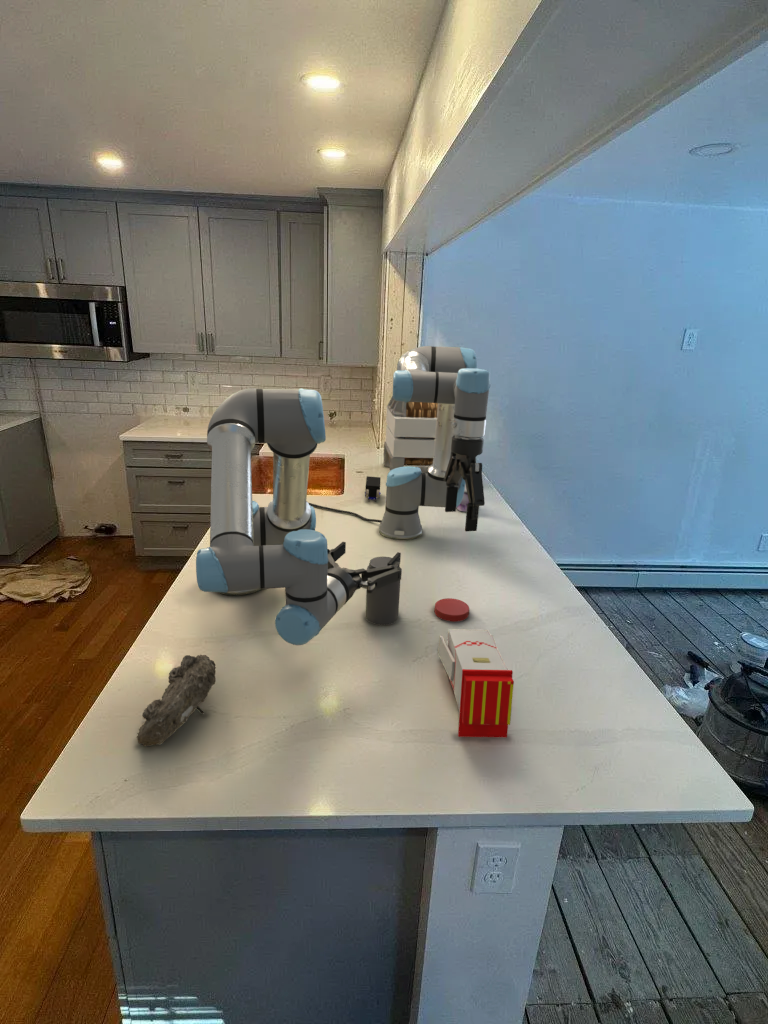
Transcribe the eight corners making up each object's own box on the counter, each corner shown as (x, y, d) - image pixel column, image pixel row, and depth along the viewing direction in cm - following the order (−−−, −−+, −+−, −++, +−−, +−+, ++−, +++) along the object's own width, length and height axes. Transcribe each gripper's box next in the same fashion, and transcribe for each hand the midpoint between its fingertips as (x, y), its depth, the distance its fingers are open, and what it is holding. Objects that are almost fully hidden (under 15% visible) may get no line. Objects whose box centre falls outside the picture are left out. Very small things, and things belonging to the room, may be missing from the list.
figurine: (463, 513, 222) (466, 477, 217) (448, 505, 231) (451, 470, 225) (482, 510, 226) (486, 474, 221) (467, 503, 235) (471, 468, 230)
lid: (462, 603, 154) (463, 597, 154) (473, 620, 146) (474, 614, 145) (430, 605, 153) (431, 599, 152) (439, 622, 144) (440, 616, 144)
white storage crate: (382, 463, 289) (386, 382, 275) (445, 464, 293) (451, 384, 279) (390, 482, 257) (394, 392, 243) (460, 483, 261) (468, 394, 247)
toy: (488, 613, 130) (523, 677, 101) (484, 667, 133) (517, 744, 104) (435, 612, 130) (455, 676, 101) (432, 666, 133) (451, 743, 103)
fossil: (167, 656, 118) (217, 624, 113) (199, 686, 121) (249, 656, 116) (112, 740, 99) (170, 705, 94) (152, 773, 102) (210, 741, 97)
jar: (403, 613, 148) (407, 560, 143) (389, 628, 141) (392, 572, 135) (374, 605, 151) (377, 552, 146) (359, 619, 144) (361, 564, 139)
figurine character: (380, 506, 230) (380, 491, 243) (381, 489, 227) (381, 475, 240) (364, 506, 230) (364, 491, 243) (364, 489, 226) (365, 474, 240)
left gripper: (275, 595, 117) (322, 557, 136) (388, 622, 109) (421, 577, 127) (274, 562, 114) (322, 528, 133) (390, 587, 106) (423, 547, 125)
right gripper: (435, 425, 144) (429, 504, 151) (474, 449, 121) (465, 540, 128) (463, 425, 146) (455, 503, 153) (506, 448, 123) (495, 538, 130)
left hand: (371, 552), depth 130 cm, fingers open, 13 cm apart
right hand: (460, 520), depth 141 cm, fingers open, 13 cm apart
